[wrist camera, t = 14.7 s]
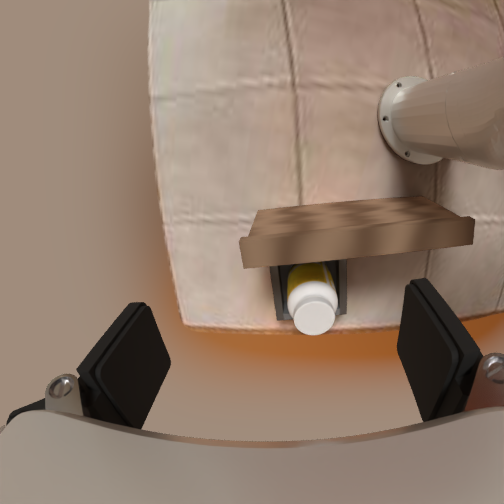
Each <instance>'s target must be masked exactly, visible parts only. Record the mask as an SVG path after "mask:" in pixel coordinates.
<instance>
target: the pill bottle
mask: <svg viewBox="0 0 504 504" xmlns="http://www.w3.org/2000/svg"><path fill="white" fill-rule="evenodd" d="M287 290H288V292H287V306H288V311H289V313H290V315H291V317H292V318H293V319H294V324H295V326H296V328H297V329H298V330H299V331H300V332H302V333H304V334H307V335H319V334H322V333H324V332H326V331H328V330H329V329H330V328H331V327H332V325H333V323H334V321H335V312H336V310H337V306H338V298H337V294H336V290H335V286H334V282H333V279H332V276H331V272H330V269H329V267H328V265H327V264H326V263H325V262H324V261H320V262H310V263H300V264H292V266H291V267H290V269H289V272H288V289H287Z"/></svg>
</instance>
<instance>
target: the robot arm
mask: <svg viewBox="0 0 504 504" xmlns="http://www.w3.org/2000/svg"><path fill="white" fill-rule="evenodd" d="M396 84H397V85H398V87H397V86H396ZM383 117H384V118H385V121H383ZM378 122H379V126H380V129H381V132H382V134H383V137H384V139H385V140H386V142H387V143H388V145H389V146H390V147H391V149H392V150H393V151H394V152H395V153H396V154H398V155H399V156H400V157H401V158H403V159H405V160H407V161H409V162H412V163H416V164H421V165H427V164H432V163H436V162H438V161H440V160H442V159H443V158H447V159H452V160H456V161H460V162H465V163H469V164H473V165H477V166H481V167H485V168H489V169H495V170H503V169H504V56H503V57H501V58H498V59H496V60H493V61H490V62H487V63H484V64H481V65H478V66H474V67H471V68H467V69H464V70H461V71H457V72H453V73H450V74H447V75H444V76H441V77H437V78H434V79H431V80H427V79H424V78H422V77H417V76H406V77H402V78H399V79H397V80H395V81H393V82H392V83H390V84H389V85H388V86H387V87H386V89H385V90H384V91H383V93H382V95H381V97H380V101H379V104H378ZM405 152H406V155H405ZM397 351H398V355H399V357H400V360H401V362H402V365H403V367H404V370H405V373H406V375H407V378H408V381H409V383H410V386H411V389H412V391H413V394H414V397H415V400H416V402H417V406H418V408H419V411H420V414H421V418H422V420H423V422H422V423H418V424H414V425H410V426H405V427H400V428H396V429H390V430H384V431H379V432H373V433H367V434H361V435H354V436H346V437H338V438H330V439H329V438H328V439H317V440H301V441H274V442H273V441H272V442H271V441H270V442H269V441H267V442H266V441H265V442H264V441H263V442H262V441H261V442H260V441H258V442H257V441H230V440H215V439H203V438H194V437H185V436H177V435H170V434H163V433H157V432H151V431H146V430H141V428H142V426H143V424H144V422H145V420H146V418H147V415H148V413H149V411H150V409H151V407H152V405H153V402H154V400H155V398H156V396H157V394H158V392H159V390H160V387H161V385H162V383H163V381H164V379H165V377H166V375H167V372H168V370H169V368H170V365H171V360H170V357H169V354H168V352H167V349H166V347H165V344H164V342H163V340H162V337H161V334H160V332H159V329H158V327H157V324H156V321H155V319H154V316H153V313H152V311H151V308H150V307H149V306H147V305H146V304H145V303H144V302H136V303H135V302H134V303H130V304H128V306H127V307H126V308H125V309H124V310H123V312H122V313H121V314H120V315H119V316H118V317H117V319H116V320H115V321H114V322H113V324H112V325H111V326H110V327H109V329H108V330H107V331H106V332H105V333H104V335H103V336H102V337H101V338H100V340H99V341H98V342H97V343H96V345H95V346H94V347H93V348H92V350H91V351H90V352H89V354H88V355H87V356H86V358H85V359H84V360H83V361H82V363H81V364H80V365H79V367H78V368H77V372H78V373H79V375H80V377H79V378H78V379H77V377H76V376H75V375H72V374H63V375H60V376H58V377H56V378H54V379H53V380H52V381H51V382H50V383H49V384H48V386H47V388H46V392H45V398H44V399H42V400H40V401H37V402H34V403H32V404H29V405H27V406H24V407H22V408H19V409H17V410H15V411H13V412H12V413H11V414H10V415H9V418H8V420H7V425H6V427H5V425H4V426H2V427H1V428H0V504H504V354H501V353H490V354H488V355H485V356H483V355H482V353H481V352H480V349H479V347H478V346H477V344H476V343H475V341H474V340H473V338H472V337H471V336H470V334H469V333H468V331H467V330H466V328H465V327H464V326H463V324H462V323H461V322H460V320H459V319H458V318H457V316H456V315H455V313H454V312H453V311H452V310H451V308H450V307H449V306H448V304H447V303H446V302H445V300H444V299H443V298H442V297H441V295H440V294H439V293H438V292H437V290H436V289H435V288H434V287H433V285H432V284H431V283H430V282H429V281H428V279H426V278H422V279H415V280H411V281H410V284H409V285H406V287H405V295H404V303H403V310H402V317H401V324H400V330H399V336H398V342H397Z"/></svg>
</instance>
